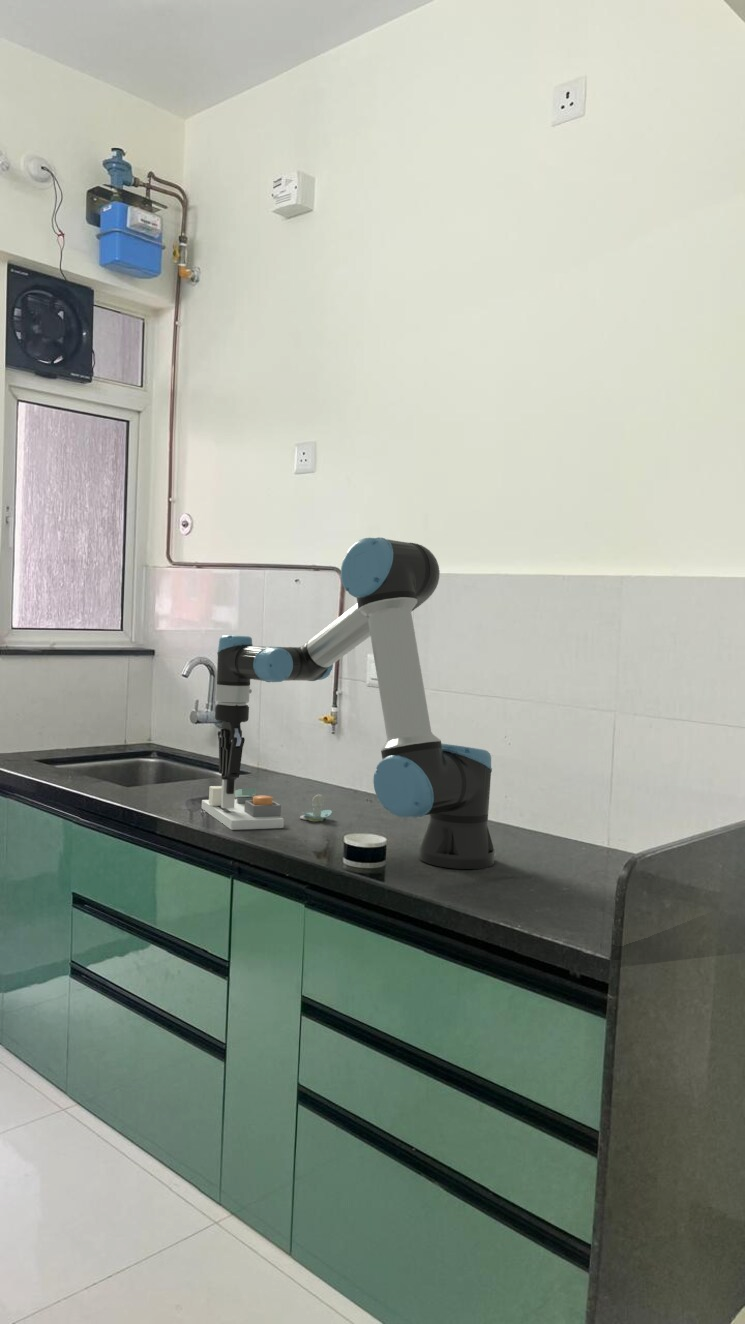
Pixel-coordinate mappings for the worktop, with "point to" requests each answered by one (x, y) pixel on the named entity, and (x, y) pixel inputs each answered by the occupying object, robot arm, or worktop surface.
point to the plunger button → (262, 800)
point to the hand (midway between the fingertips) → (227, 807)
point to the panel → (246, 814)
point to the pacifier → (317, 810)
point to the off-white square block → (215, 795)
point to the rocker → (245, 792)
